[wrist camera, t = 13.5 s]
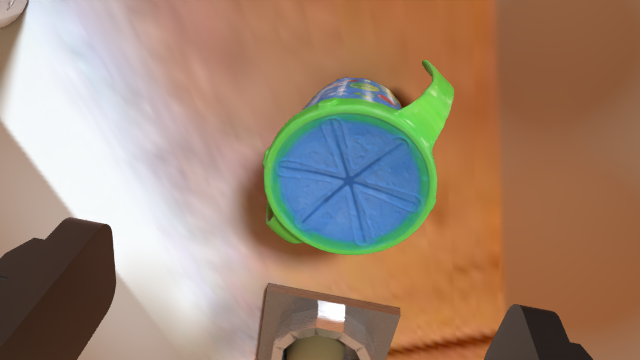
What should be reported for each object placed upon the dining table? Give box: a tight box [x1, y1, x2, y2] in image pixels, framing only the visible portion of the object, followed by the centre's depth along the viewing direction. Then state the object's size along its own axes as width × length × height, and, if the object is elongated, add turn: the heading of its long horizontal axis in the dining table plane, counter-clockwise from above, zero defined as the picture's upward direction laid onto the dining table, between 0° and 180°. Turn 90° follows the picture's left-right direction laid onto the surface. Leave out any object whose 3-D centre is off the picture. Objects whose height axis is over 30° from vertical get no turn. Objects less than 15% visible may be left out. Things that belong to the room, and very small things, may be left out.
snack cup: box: [263, 60, 454, 255], centre depth 34 cm, size 16×10×10 cm
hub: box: [257, 283, 400, 360], centre depth 49 cm, size 13×12×3 cm
